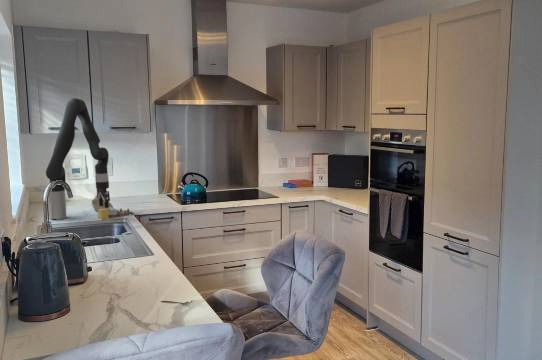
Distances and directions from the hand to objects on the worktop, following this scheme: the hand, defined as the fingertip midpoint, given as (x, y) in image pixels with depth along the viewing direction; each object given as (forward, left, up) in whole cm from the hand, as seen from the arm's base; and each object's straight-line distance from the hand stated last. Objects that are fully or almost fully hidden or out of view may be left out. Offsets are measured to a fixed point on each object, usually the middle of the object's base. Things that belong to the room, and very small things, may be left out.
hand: (104, 206), depth 305 cm
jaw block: (-1, 0, -7) cm, 7 cm away
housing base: (+10, +5, -7) cm, 14 cm away
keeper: (+6, +5, -6) cm, 10 cm away
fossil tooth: (+7, +23, -8) cm, 25 cm away
